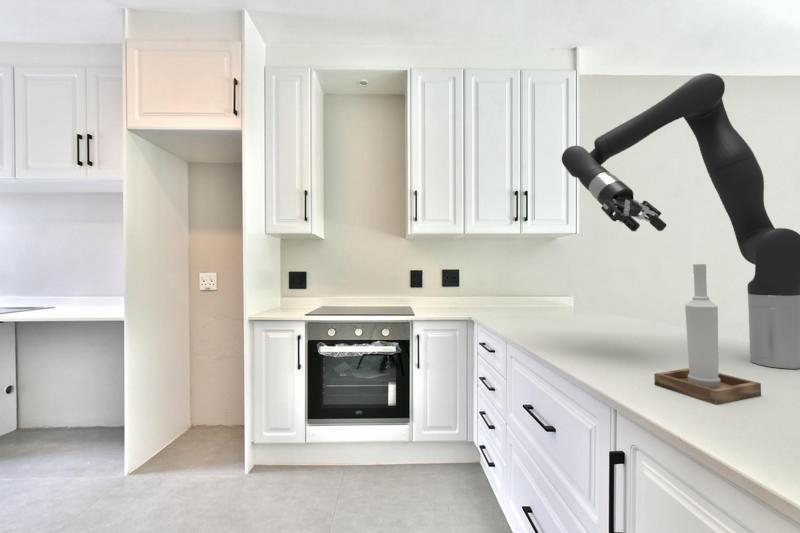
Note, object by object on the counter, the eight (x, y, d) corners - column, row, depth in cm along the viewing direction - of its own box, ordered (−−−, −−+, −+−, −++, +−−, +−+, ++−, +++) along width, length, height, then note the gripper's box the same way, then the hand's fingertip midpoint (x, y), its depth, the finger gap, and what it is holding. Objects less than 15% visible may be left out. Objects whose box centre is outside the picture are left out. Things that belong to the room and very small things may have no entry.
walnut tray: (695, 377, 82) (695, 367, 82) (761, 395, 70) (760, 383, 70) (654, 384, 78) (654, 373, 78) (716, 404, 67) (716, 391, 67)
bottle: (727, 390, 71) (722, 263, 71) (697, 389, 73) (692, 264, 72) (710, 381, 77) (706, 263, 76) (682, 381, 78) (678, 264, 77)
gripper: (596, 179, 96) (637, 216, 85) (638, 180, 100) (682, 216, 89) (582, 202, 101) (618, 240, 90) (622, 203, 105) (662, 239, 94)
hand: (650, 228), depth 90 cm, fingers open, 8 cm apart
